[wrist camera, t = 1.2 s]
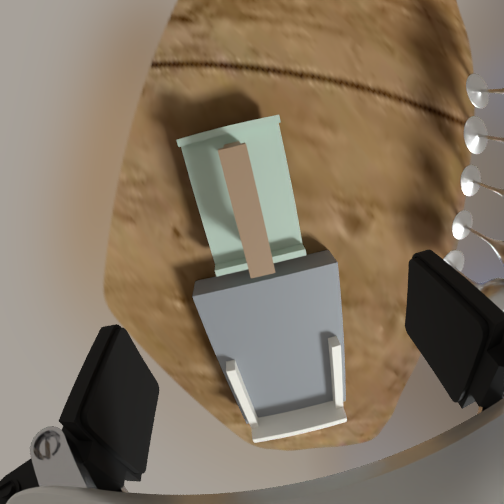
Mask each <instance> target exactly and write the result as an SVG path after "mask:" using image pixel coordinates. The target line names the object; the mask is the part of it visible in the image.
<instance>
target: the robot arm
mask: <svg viewBox="0 0 504 504" xmlns="http://www.w3.org/2000/svg"><path fill="white" fill-rule="evenodd" d="M405 328H406V331H407V333H408V335H409V336H410V338H411V339H412V341H413V342H414V343H415V345H416V346H417V348H418V349H419V351H420V352H421V354H422V355H423V356H424V358H425V359H426V361H427V362H428V364H429V365H430V367H431V368H432V370H433V371H434V373H435V374H436V376H437V377H438V379H439V380H440V382H441V383H442V385H443V386H444V388H445V390H446V391H447V393H448V394H449V396H450V397H451V399H452V400H453V401H454V402H458V403H459V405H460V406H461V408H464V407H466V406H468V405H470V404H471V403H473V402H475V401H476V402H477V404H478V406H479V408H478V414H477V415H475V416H474V417H472V418H470V419H468V420H467V421H465V422H463V423H461V424H459V425H458V426H455V427H454V428H452V429H450V430H448V431H446V432H444V433H442V434H440V435H438V436H436V437H434V438H432V439H429V440H428V441H425V442H423V443H421V444H419V445H416V446H414V447H412V448H409V449H407V450H404V451H402V452H400V453H397V454H395V455H392V456H389V457H387V458H384V459H382V460H378V461H376V462H373V463H370V464H367V465H364V466H361V467H358V468H354V469H351V470H348V471H344V472H341V473H337V474H334V475H330V476H326V477H322V478H318V479H314V480H309V481H305V482H300V483H295V484H290V485H285V486H279V487H273V488H266V489H260V490H252V491H243V492H233V493H220V494H205V495H204V494H202V495H158V494H140V493H129V492H128V491H127V489H126V488H125V486H124V481H125V480H127V481H141V475H142V473H144V472H145V471H146V466H147V459H148V452H149V446H150V440H151V434H152V428H153V422H154V417H155V411H156V406H157V401H158V395H159V386H158V383H157V381H156V379H155V378H154V376H153V375H152V373H151V371H150V370H149V368H148V366H147V365H146V363H145V362H144V360H143V358H142V357H141V355H140V354H139V352H138V350H137V348H136V346H135V345H134V343H133V341H132V339H131V338H130V336H129V334H128V332H127V331H126V329H125V328H121V327H120V326H119V325H117V324H116V325H111V326H105V327H102V328H101V329H100V331H99V333H98V335H97V337H96V339H95V341H94V343H93V345H92V347H91V349H90V351H89V353H88V355H87V358H86V360H85V362H84V364H83V366H82V368H81V370H80V372H79V375H78V377H77V379H76V381H75V384H74V386H73V388H72V390H71V393H70V395H69V397H68V400H67V402H66V405H65V407H64V409H63V412H62V414H61V417H60V419H59V422H60V423H61V424H62V425H63V428H62V430H61V429H59V428H58V427H54V426H51V427H46V428H44V429H42V430H41V431H40V432H38V433H37V434H36V436H35V437H34V438H33V440H32V442H31V446H30V455H31V459H30V460H28V461H27V462H25V463H24V464H22V465H21V466H19V467H18V468H17V469H15V470H14V471H12V472H11V473H9V474H8V475H6V476H5V477H4V478H3V479H2V480H1V481H0V504H504V312H503V311H502V310H501V309H500V308H499V307H498V306H497V305H496V304H494V303H493V302H492V301H491V300H490V299H489V298H488V297H487V296H486V295H485V294H483V293H482V292H481V291H480V290H479V289H478V288H477V287H475V286H474V285H473V284H472V283H471V282H470V281H469V280H467V279H466V278H465V277H464V276H463V275H461V274H460V273H459V272H458V271H457V270H455V269H454V268H453V267H452V266H451V265H449V264H448V263H447V262H446V261H444V260H443V259H442V258H441V257H439V256H438V255H437V254H435V253H434V252H433V251H432V250H425V251H422V252H418V253H415V254H414V255H413V257H412V259H411V260H410V261H409V272H408V293H407V308H406V320H405Z"/></svg>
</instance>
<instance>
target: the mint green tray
mask: <svg viewBox="0 0 504 504" xmlns="http://www.w3.org/2000/svg"><path fill="white" fill-rule="evenodd" d="M280 122H281V121H280V117H279V115H276V116H271V117H265V118H261V119H256V120H251V121H247V122H242V123H238V124H234V125H229V126H225V127H221V128H217V129H213V130H210V131H206V132H202V133H198V134H195V135H191V136H188V137H184V138H181V139H178V140H177V144H178V147H181V149H182V152H183V156H184V160H185V163H186V167H187V171H188V174H189V178H190V181H191V185H192V188H193V192H194V195H195V199H196V202H197V206H198V209H199V213H200V216H201V219H202V223H203V226H204V229H205V233H206V236H207V239H208V243H209V246H210V249H211V252H212V256H213V259H214V262H215V273H216V276H221V275H225V274H230V273H234V272H238V271H243V270H247V269H249V273H250V277H251V278H256V277H260V276H264V275H268V274H273V273H275V268H274V263H277V262H281V261H285V260H289V259H293V258H297V257H301V256H306V249H305V247H304V246H303V244H302V239H301V233H300V227H299V222H298V216H297V211H296V206H295V200H294V195H293V190H292V185H291V180H290V175H289V170H288V165H287V160H286V155H285V151H284V146H283V141H282V137H281V132H280V128H279V123H280Z"/></svg>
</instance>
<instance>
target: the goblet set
mask: <svg viewBox="0 0 504 504" xmlns="http://www.w3.org/2000/svg"><path fill="white" fill-rule="evenodd" d="M466 89H467V94H468V97H469V99H470V101H471V102H472V103H473V105H474V106H476V107H477V108H484V107H485V106H486V105H487V103H488V100H489V93H498V94H503V95H504V88H502V89H488V87H487V85H486V83H485V81H484V80H483V78H482V77H481V76H479V75H478V74H471V75H469V77H468V78H467V82H466ZM464 139H465V143H466V146H467V147H468V149H469V150H470V151H471V152H472V153H474V154H479V153H481V152H483V151H484V149H485V148H486V145H487V141H488V139H490V140H494V141H498V142H501V143H504V138H502V137H501V138H500V137H494V136H488V133H487V129H486V126H485V124H484V122H483V121H482V120H481V119H480V118H479V117H477V116H472V117H470V118H469V119H468V120H467V122H466V124H465V127H464ZM480 185H481V186H483V187H485V188H488V189H490V190H492V191H494V192H496V193H498V194H499V195H501V196H502V197H503V198H504V189H499V188H495V187H491V186H488V185H485V184H483V183H481V175H480V171H479V169H478V168H477V167H476V166H475V165H469V166H467V167H466V168H465V169H464V171H463V172H462V175H461V188H462V191H463V193H464V194H465V195H467V196H472V195H474V194H475V193H476V192H477V191H478V189H479V187H480ZM472 224H473V218H472V215H471V213H470V212H469V211H467V210H463V211H461V212H459V213H458V214H457V215H456V217H455V219H454V221H453V224H452V233H453V236H454V237H455V238H456V239H463V238H465V237H466V236H467V235H468V234H469V233H470V231H471V232H473V233H475V234H476V235H478V236H479V237H480V238H482V239H483V240H485V241H486V242H487V243H488V244H490V245H491V247H492V248H493V249H494V251H495V252H496V254H497V256H498V257H499V259H500V261H501V263H502V264H503V266H504V241H500V240H494V239H490V238H488V237H486V236H484V235H482V234H480V233H479V232H477V231H475V230H473V229H471V228H472ZM443 260H444V261H446V262H447V263H448V264H449V265H451V266H452V267H453V268H454V269H455V270H457V271H458V272H459V273H460V274H461V275H463V276H464V277H465V278H466V279H467V280H469V281H470V282H471V283H472V284H473V285H474V286H475V287H477V288H478V289H479V290H480V291H481V292H482V293H483V294H485V295H486V296H487V297H488V298H489V299H490V300H491V301H492V302H493V303H494V304H496V305H497V306H498V307H499V308H500V309H501V310H502V311H503V312H504V279H503V278H494V279H490V280H488V281H486V282H483V283H478V282H475V281H473V280H471V279H469V278H468V277H467V276H465V275H464V274H463V273H462V272H461V271H462V269H463V266H464V255H463V253H462V252H461V251H459V250H453V251H451V252H449V253H448V254H447V255H446V256H445V257H444V259H443Z"/></svg>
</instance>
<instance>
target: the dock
mask: <svg viewBox="0 0 504 504" xmlns="http://www.w3.org/2000/svg"><path fill="white" fill-rule="evenodd" d="M274 268H275V273H273V274H268V275H264V276H260V277H256V278H251V277H250V273H249V269H247V270H243V271H238V272H234V273H230V274H225V275H221V276H216V277H211V278H207V279H203V280H198V281H195V285H194V290H193V296H192V297H193V300H194V302H195V305H196V307H197V310H198V313H199V315H200V318H201V320H202V323H203V325H204V328H205V330H206V333H207V335H208V337H209V340H210V342H211V345H212V347H213V350H214V352H215V354H216V357H217V359H218V361H219V364H220V366H221V368H222V371H223V373H224V375H225V377H226V380H227V382H228V384H229V386H230V389H231V391H232V393H233V395H234V398H235V400H236V402H237V404H238V406H239V408H240V411H241V413H242V415H243V417H244V419H245V421H246V423H249V424H250V426H251V428H252V439H253V441H254V443H256V442H262V441H268V440H273V439H278V438H283V437H288V436H293V435H297V434H302V433H306V432H310V431H314V430H318V429H322V428H326V427H329V426H333V425H337V424H340V423H343V422H347V417H346V414H345V411H344V408H343V401H346V391H345V356H344V336H343V320H342V306H341V293H340V282H339V272H338V262H337V261H336V260H335V258H334V257H333V255H332V254H331V253H330V251H329V250H325V251H321V252H317V253H313V254H309V255H306V256H301V257H297V258H293V259H289V260H285V261H281V262H277V263H274Z"/></svg>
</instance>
